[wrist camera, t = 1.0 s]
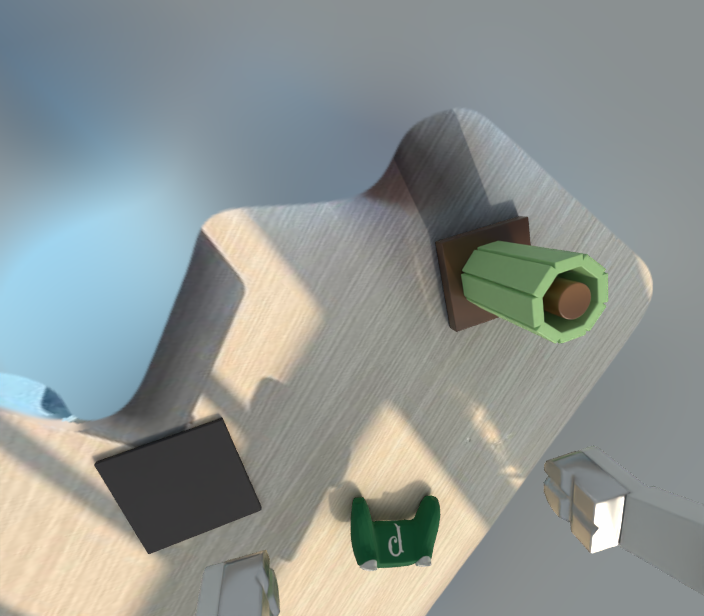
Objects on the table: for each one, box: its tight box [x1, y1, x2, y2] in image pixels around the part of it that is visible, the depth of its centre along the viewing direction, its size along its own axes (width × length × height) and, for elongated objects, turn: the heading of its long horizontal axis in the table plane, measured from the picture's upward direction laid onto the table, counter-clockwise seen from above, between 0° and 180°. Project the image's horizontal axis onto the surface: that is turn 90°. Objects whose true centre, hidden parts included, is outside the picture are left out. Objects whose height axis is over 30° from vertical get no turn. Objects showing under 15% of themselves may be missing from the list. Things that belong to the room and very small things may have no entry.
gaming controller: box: [351, 496, 440, 571], centre depth 35 cm, size 9×4×6 cm
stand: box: [435, 216, 591, 332], centre depth 27 cm, size 8×8×10 cm
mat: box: [94, 418, 261, 554], centre depth 31 cm, size 10×10×1 cm
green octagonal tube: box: [461, 241, 608, 343], centre depth 27 cm, size 6×6×8 cm
